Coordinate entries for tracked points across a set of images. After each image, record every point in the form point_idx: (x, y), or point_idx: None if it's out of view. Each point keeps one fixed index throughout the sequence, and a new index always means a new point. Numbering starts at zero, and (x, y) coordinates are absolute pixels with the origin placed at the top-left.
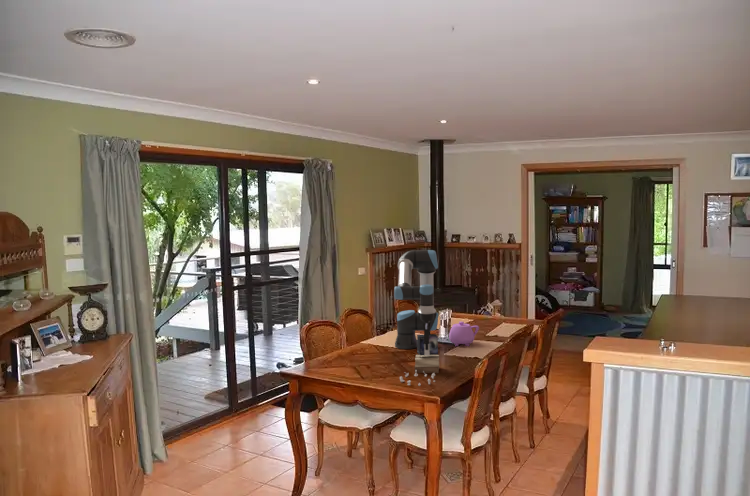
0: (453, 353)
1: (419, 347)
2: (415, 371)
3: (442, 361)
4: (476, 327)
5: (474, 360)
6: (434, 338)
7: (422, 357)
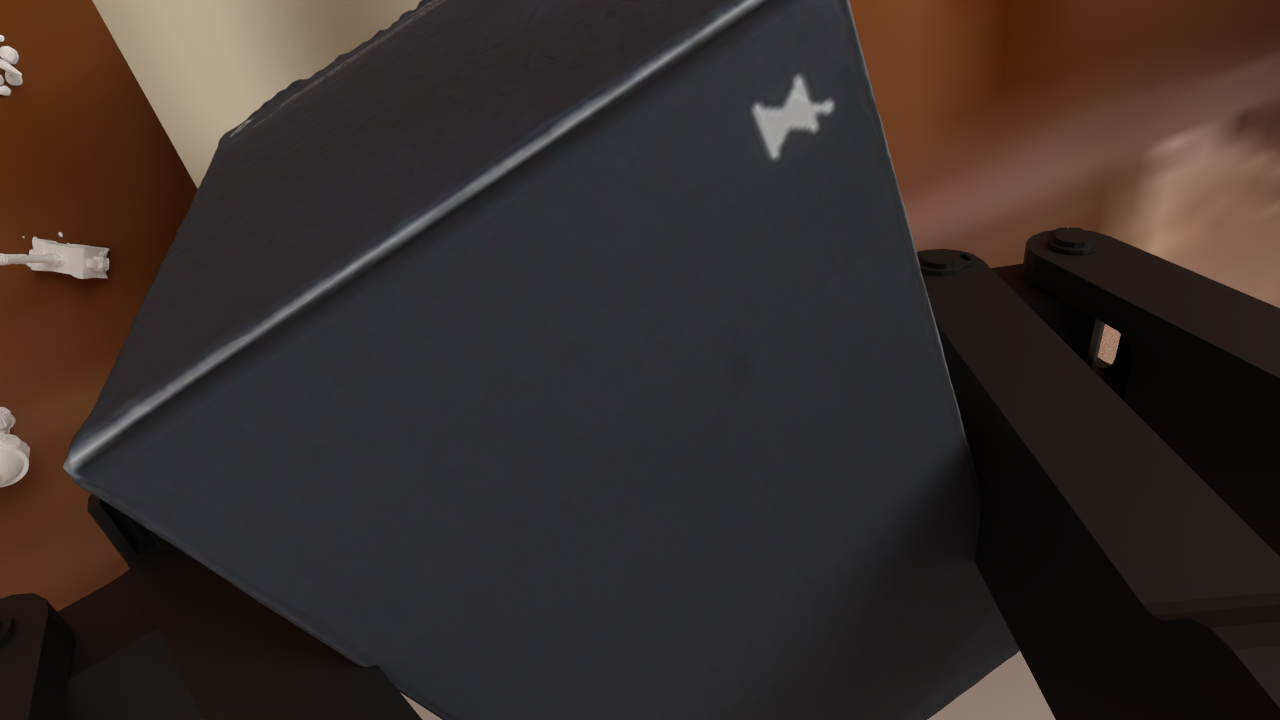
0: (1181, 230)
1: (219, 178)
2: None
3: (909, 223)
4: None
5: None
6: None
7: None
